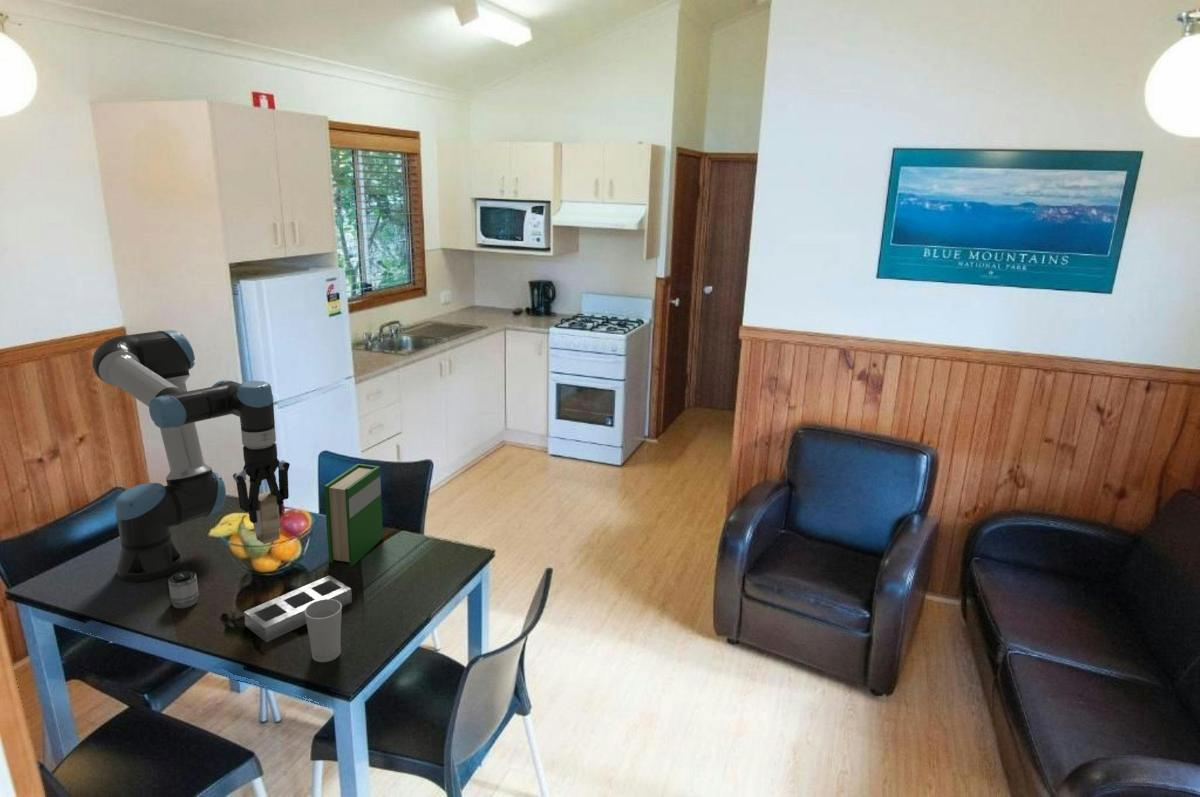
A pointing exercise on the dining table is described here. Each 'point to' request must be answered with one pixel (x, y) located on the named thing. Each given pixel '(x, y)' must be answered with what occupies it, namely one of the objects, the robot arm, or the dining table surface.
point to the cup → (324, 629)
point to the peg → (268, 518)
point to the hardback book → (353, 513)
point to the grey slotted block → (293, 608)
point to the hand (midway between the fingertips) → (267, 529)
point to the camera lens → (183, 589)
